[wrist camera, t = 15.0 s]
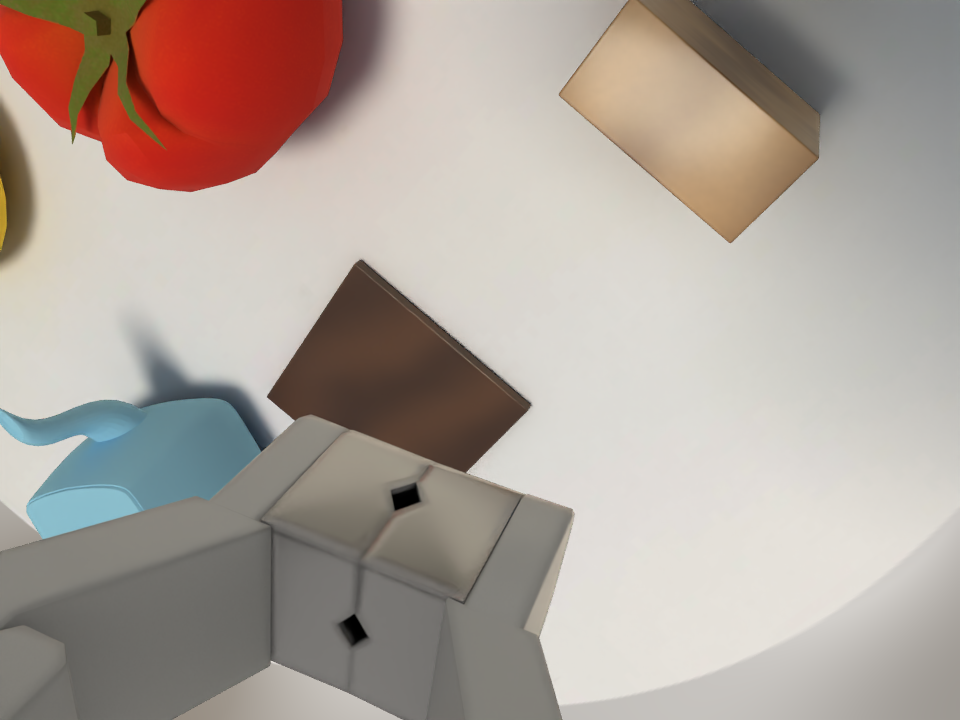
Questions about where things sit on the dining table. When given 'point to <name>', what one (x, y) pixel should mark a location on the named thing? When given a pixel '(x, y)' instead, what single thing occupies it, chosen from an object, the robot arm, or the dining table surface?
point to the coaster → (396, 377)
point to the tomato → (176, 78)
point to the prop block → (696, 112)
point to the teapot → (133, 458)
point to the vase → (2, 214)
